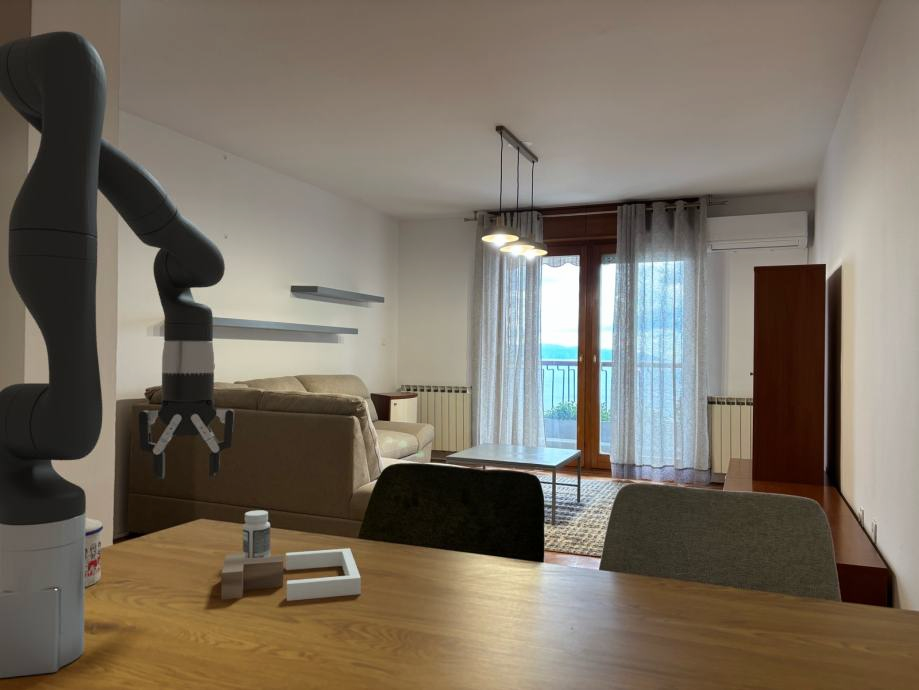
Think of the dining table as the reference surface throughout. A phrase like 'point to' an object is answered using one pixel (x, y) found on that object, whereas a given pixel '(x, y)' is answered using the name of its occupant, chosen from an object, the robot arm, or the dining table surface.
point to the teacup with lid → (92, 551)
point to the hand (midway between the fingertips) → (187, 476)
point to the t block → (249, 574)
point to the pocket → (323, 586)
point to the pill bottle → (256, 534)
